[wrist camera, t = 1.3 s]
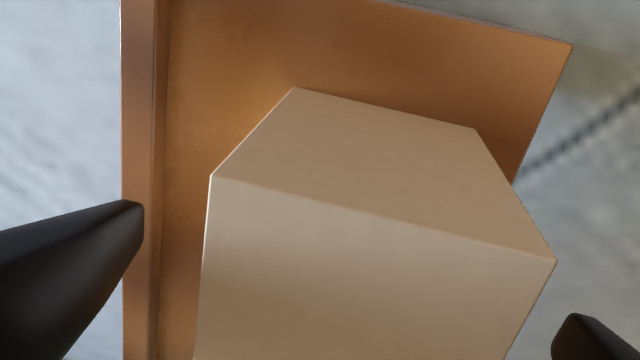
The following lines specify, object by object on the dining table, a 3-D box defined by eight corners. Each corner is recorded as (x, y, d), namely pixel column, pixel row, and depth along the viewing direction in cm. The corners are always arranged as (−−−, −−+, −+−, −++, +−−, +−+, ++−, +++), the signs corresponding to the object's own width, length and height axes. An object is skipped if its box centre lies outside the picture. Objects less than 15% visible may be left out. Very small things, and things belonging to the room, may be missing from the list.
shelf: (372, 404, 23) (368, 525, 18) (181, 352, 24) (123, 456, 18) (517, 27, 14) (591, 49, 9) (211, -41, 15) (117, -57, 10)
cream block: (419, 276, 13) (442, 473, 8) (267, 237, 14) (187, 403, 8) (475, 128, 11) (560, 261, 6) (293, 85, 11) (208, 174, 6)
